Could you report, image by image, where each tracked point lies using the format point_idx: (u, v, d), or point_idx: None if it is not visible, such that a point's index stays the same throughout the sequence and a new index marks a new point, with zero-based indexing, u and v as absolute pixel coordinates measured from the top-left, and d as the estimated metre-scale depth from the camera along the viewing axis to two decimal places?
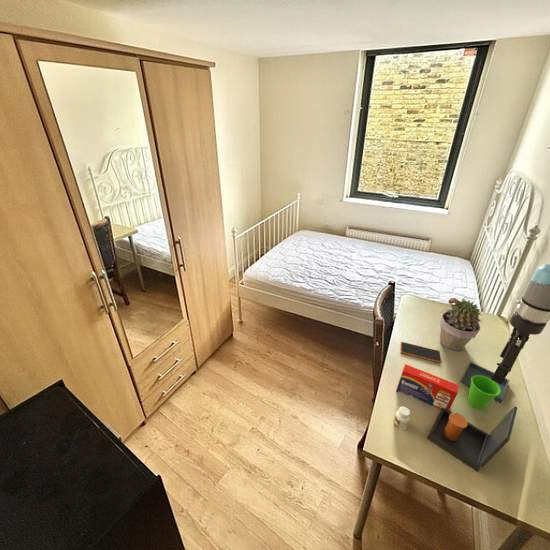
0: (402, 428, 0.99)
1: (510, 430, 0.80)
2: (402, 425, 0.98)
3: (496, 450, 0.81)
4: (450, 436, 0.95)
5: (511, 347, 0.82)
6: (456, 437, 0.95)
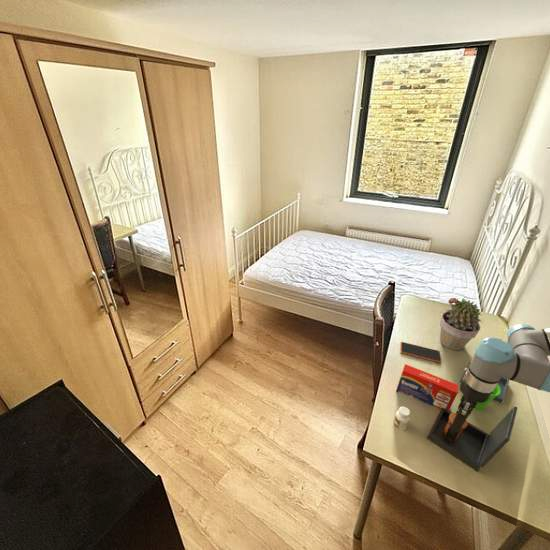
0: (402, 428, 0.99)
1: (510, 430, 0.80)
2: (402, 425, 0.98)
3: (496, 450, 0.81)
4: None
5: (458, 415, 0.87)
6: (456, 437, 0.95)
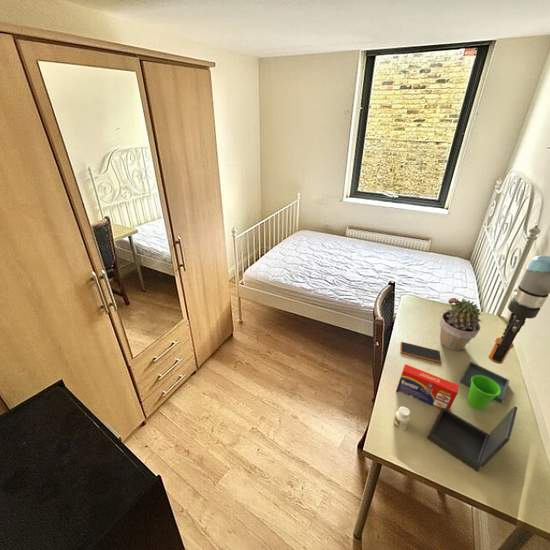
0: (402, 428, 0.99)
1: (510, 430, 0.80)
2: (402, 425, 0.98)
3: (496, 450, 0.81)
4: None
5: (508, 332, 0.94)
6: (502, 359, 1.02)
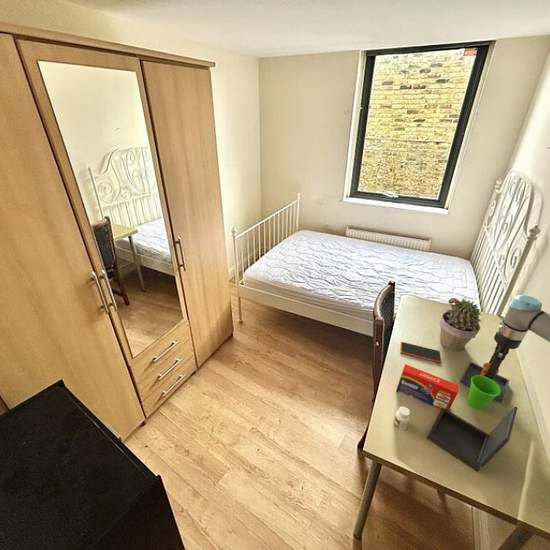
0: (402, 428, 0.99)
1: (510, 430, 0.80)
2: (402, 425, 0.98)
3: (496, 450, 0.81)
4: None
5: (494, 359, 1.05)
6: None
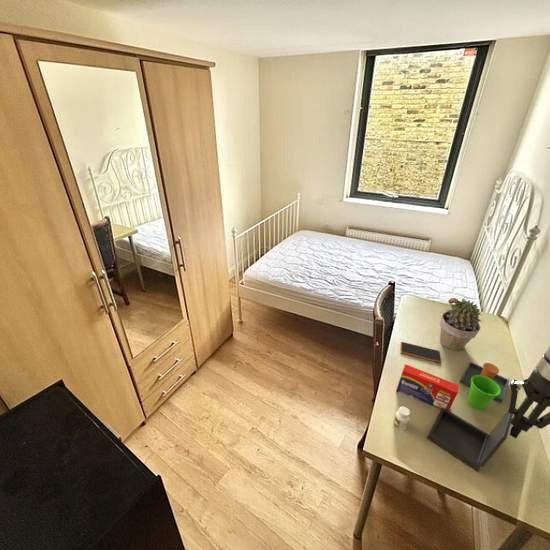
0: (402, 428, 0.99)
1: (507, 428, 0.81)
2: (402, 425, 0.98)
3: (494, 449, 0.82)
4: None
5: None
6: None
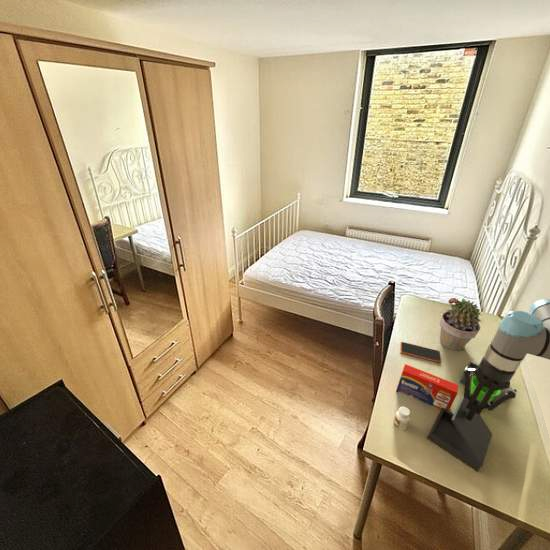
0: (402, 428, 0.99)
1: (456, 412, 0.90)
2: (402, 425, 0.98)
3: (463, 438, 0.87)
4: None
5: None
6: None
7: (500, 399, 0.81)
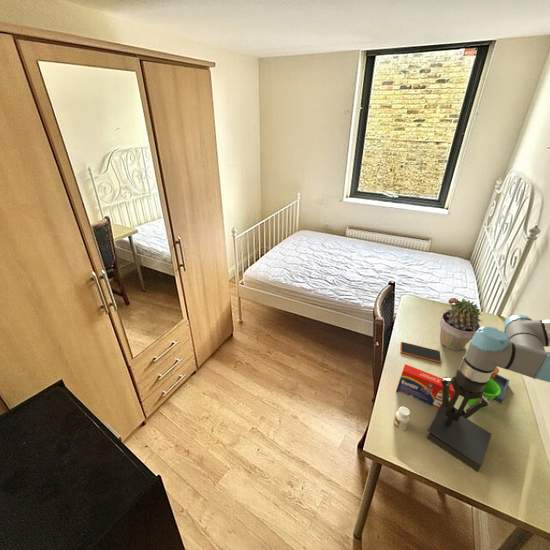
0: (402, 428, 0.99)
1: None
2: (402, 425, 0.98)
3: (447, 443, 0.92)
4: None
5: None
6: None
7: (474, 407, 0.87)
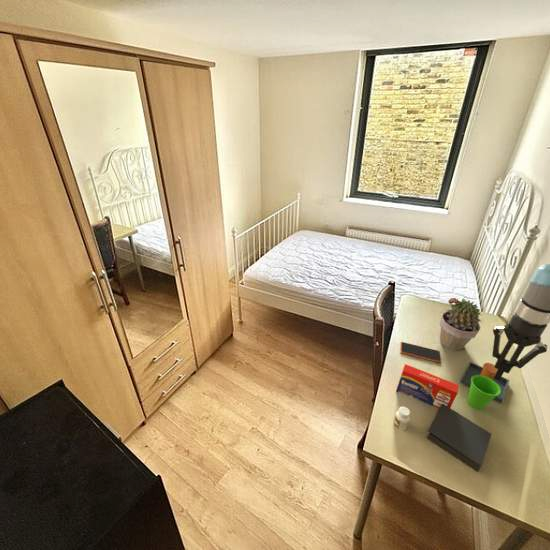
0: (402, 428, 0.99)
1: None
2: (402, 425, 0.98)
3: (447, 443, 0.92)
4: None
5: None
6: None
7: (530, 355, 0.83)
